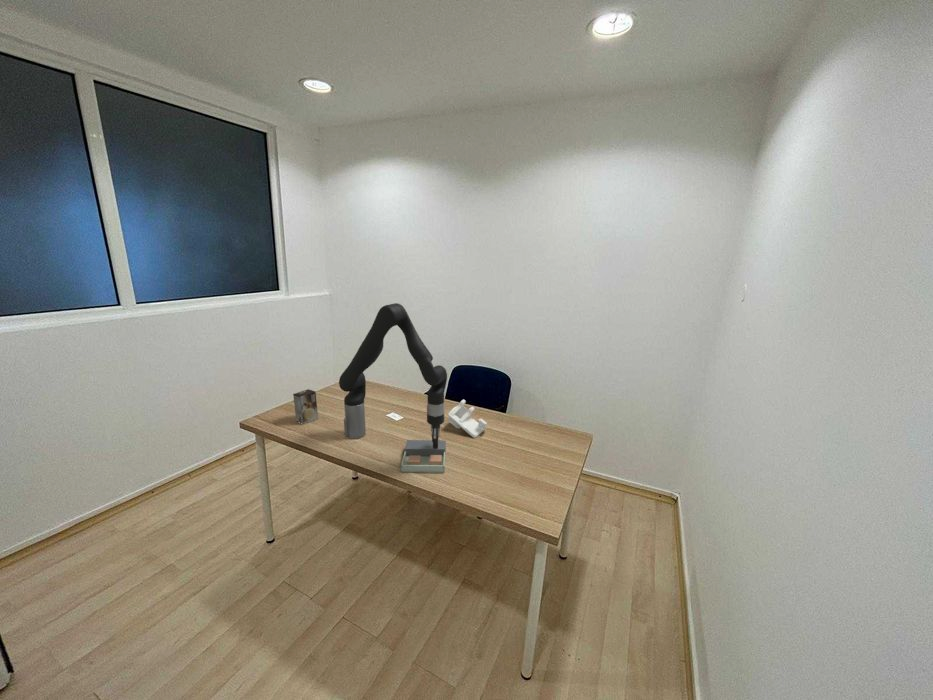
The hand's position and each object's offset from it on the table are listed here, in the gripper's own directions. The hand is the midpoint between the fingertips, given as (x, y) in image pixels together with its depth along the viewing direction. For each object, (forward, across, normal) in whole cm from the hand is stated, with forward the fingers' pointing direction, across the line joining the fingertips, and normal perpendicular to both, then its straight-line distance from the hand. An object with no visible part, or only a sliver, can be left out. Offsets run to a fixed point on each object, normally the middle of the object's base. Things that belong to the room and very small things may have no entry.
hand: (435, 447), depth 155 cm
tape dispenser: (+5, -27, +15) cm, 31 cm away
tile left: (+2, +6, -9) cm, 10 cm away
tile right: (+2, +5, 0) cm, 5 cm away
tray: (+5, +5, -5) cm, 9 cm away
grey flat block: (+5, -5, -5) cm, 8 cm away
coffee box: (+5, -36, -70) cm, 79 cm away
